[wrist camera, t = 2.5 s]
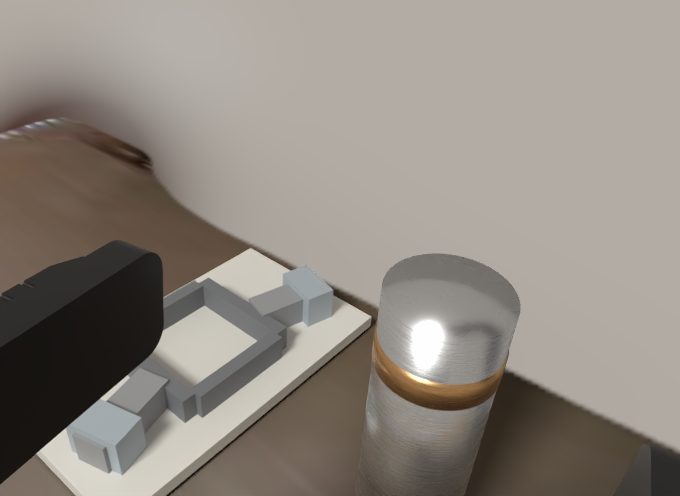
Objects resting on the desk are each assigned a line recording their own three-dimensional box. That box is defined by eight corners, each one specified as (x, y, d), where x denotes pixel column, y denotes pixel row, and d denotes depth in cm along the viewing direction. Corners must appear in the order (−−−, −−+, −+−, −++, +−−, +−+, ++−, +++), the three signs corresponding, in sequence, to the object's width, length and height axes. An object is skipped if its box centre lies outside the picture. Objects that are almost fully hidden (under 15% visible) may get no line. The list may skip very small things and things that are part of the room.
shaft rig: (250, 257, 45) (250, 222, 43) (370, 326, 40) (374, 290, 38) (-8, 406, 33) (-24, 366, 31) (115, 537, 27) (104, 497, 25)
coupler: (437, 480, 31) (496, 252, 23) (462, 575, 27) (544, 340, 19) (344, 485, 30) (371, 253, 22) (356, 583, 26) (393, 344, 18)
